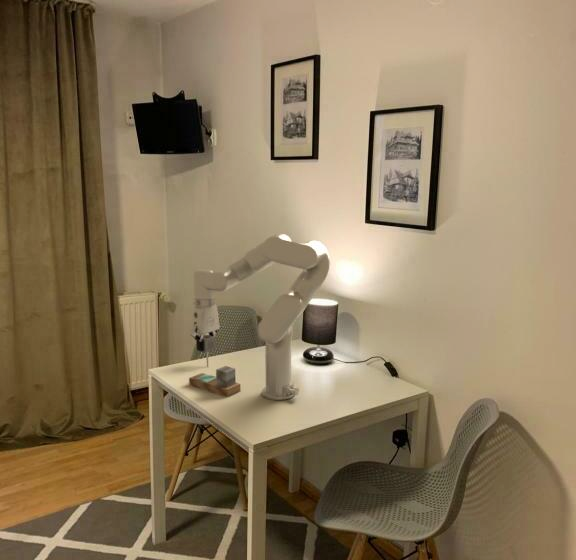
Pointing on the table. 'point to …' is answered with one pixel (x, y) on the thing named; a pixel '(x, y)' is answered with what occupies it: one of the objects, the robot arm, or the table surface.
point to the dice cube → (209, 343)
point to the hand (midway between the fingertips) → (206, 348)
